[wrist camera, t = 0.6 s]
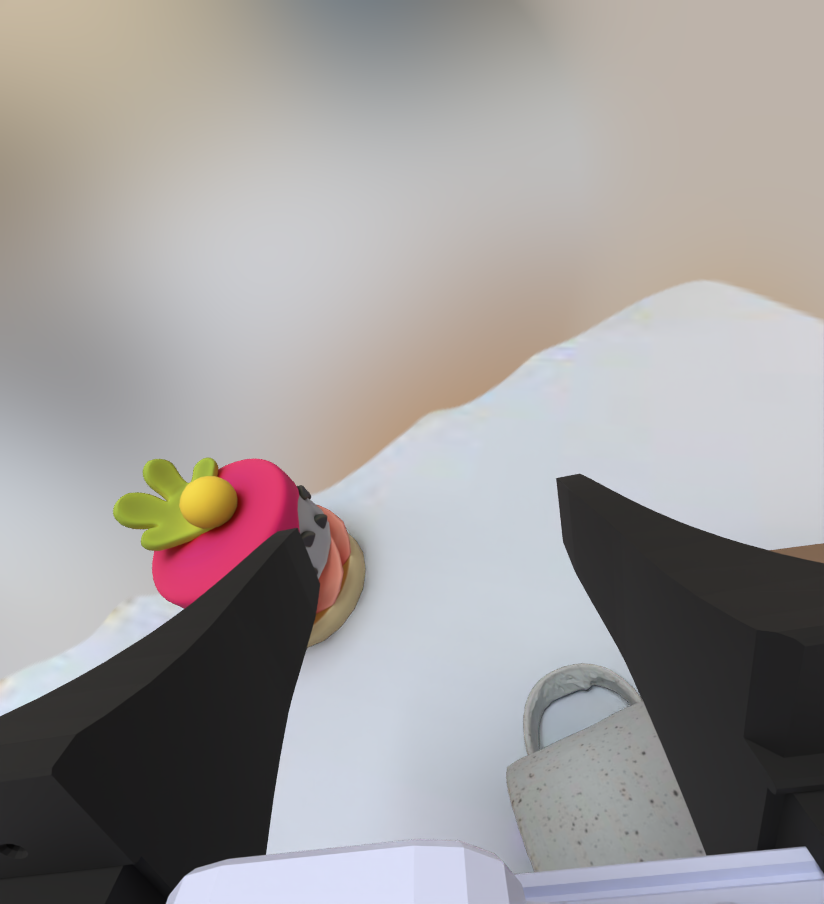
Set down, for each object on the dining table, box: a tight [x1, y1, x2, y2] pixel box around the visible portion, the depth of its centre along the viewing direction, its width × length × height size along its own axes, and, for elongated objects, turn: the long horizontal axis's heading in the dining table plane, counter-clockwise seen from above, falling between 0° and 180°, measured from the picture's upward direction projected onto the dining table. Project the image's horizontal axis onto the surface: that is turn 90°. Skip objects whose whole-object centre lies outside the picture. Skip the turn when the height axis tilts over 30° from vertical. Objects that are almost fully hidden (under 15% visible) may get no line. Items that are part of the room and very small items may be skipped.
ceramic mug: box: [506, 663, 706, 872], centre depth 17 cm, size 11×8×8 cm
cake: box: [113, 458, 366, 648], centre depth 29 cm, size 10×11×15 cm
